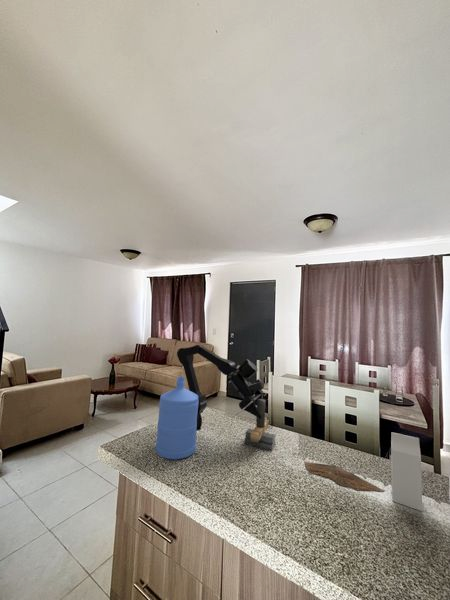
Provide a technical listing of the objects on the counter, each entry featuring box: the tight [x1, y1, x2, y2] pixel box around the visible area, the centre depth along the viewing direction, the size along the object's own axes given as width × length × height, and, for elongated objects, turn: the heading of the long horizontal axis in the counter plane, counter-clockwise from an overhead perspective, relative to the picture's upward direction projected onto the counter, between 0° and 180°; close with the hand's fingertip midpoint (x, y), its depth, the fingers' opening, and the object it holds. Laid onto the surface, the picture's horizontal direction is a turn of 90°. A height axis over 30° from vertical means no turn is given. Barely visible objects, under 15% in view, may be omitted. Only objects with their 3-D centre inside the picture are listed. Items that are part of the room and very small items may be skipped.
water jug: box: [155, 376, 199, 460], centre depth 100 cm, size 16×16×28 cm
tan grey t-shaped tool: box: [250, 398, 270, 442], centre depth 109 cm, size 18×4×14 cm, turn 156°
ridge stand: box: [244, 428, 276, 452], centre depth 108 cm, size 12×6×4 cm, turn 66°
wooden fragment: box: [304, 461, 386, 493], centre depth 87 cm, size 26×11×1 cm, turn 53°
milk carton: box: [390, 432, 423, 512], centre depth 77 cm, size 7×7×19 cm
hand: (264, 414), depth 109 cm, fingers open, 9 cm apart
